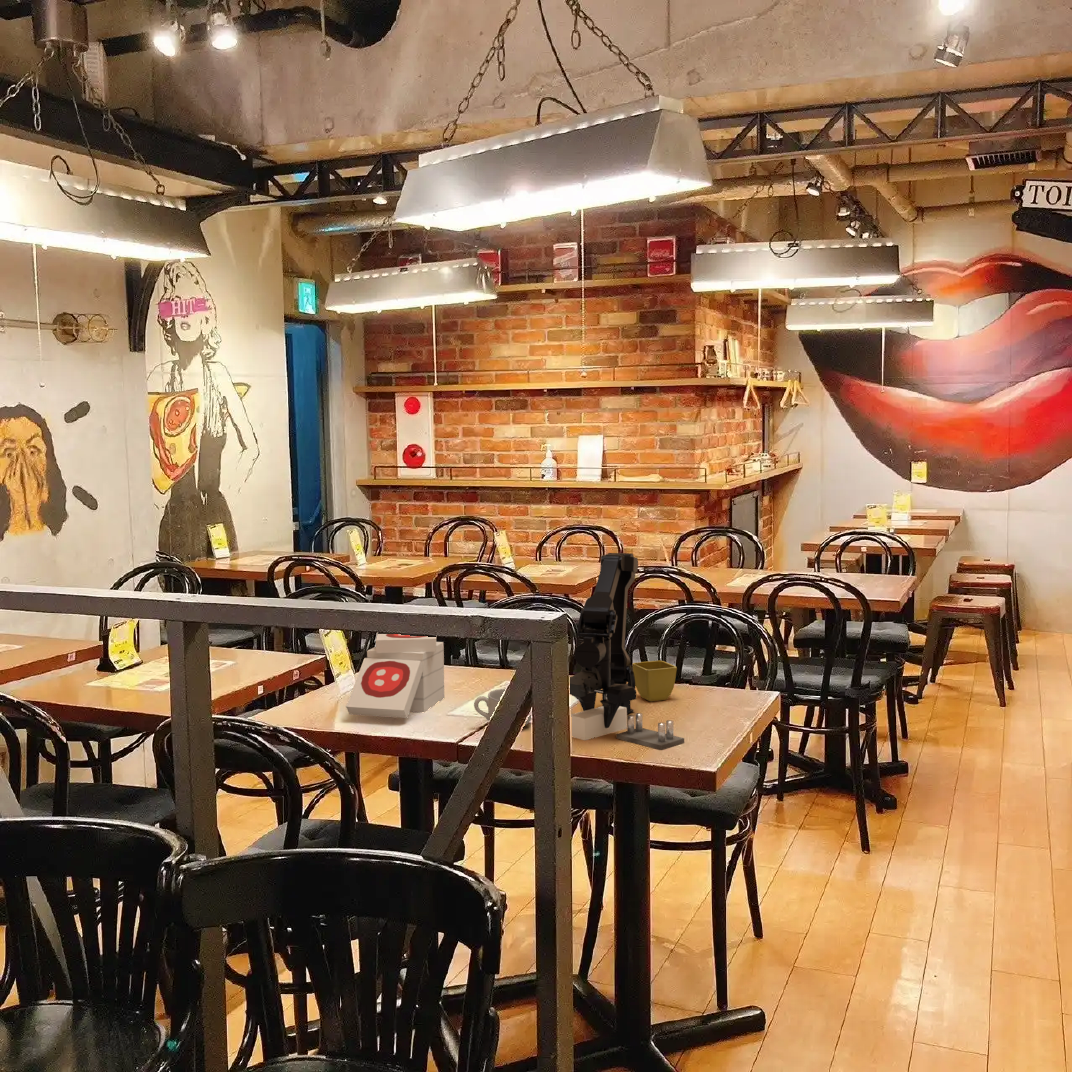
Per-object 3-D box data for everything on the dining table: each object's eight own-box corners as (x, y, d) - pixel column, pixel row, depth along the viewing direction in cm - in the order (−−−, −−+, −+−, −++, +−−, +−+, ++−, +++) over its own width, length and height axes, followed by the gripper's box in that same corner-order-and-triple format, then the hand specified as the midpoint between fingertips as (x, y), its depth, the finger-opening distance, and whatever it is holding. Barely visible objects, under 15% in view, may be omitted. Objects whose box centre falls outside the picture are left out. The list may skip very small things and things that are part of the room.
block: (584, 740, 253) (584, 718, 252) (569, 736, 257) (568, 714, 256) (626, 728, 262) (626, 707, 262) (611, 724, 266) (611, 704, 266)
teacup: (533, 720, 271) (532, 687, 270) (534, 732, 260) (534, 698, 259) (474, 721, 270) (474, 688, 269) (473, 733, 259) (473, 699, 258)
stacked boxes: (339, 722, 270) (337, 647, 269) (387, 693, 299) (386, 625, 297) (413, 727, 265) (412, 651, 264) (455, 697, 294) (454, 628, 292)
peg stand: (616, 738, 254) (616, 716, 254) (639, 731, 260) (639, 710, 259) (661, 750, 245) (661, 727, 244) (684, 742, 250) (684, 720, 250)
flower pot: (677, 701, 288) (677, 666, 287) (647, 704, 285) (647, 669, 284) (661, 693, 296) (661, 660, 295) (631, 697, 293) (631, 662, 292)
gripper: (544, 658, 259) (544, 724, 261) (604, 670, 246) (604, 740, 247) (578, 651, 267) (578, 715, 268) (637, 662, 253) (637, 730, 255)
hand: (598, 725), depth 259 cm, fingers closed on block, 5 cm apart
